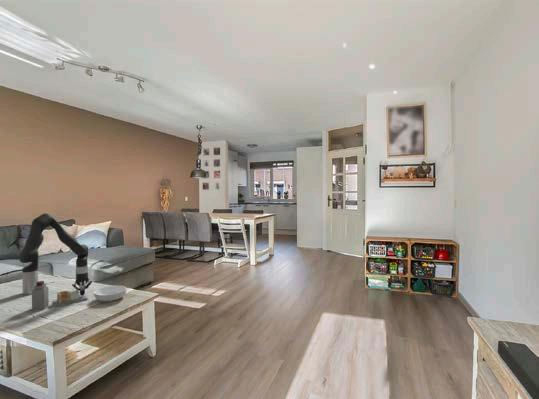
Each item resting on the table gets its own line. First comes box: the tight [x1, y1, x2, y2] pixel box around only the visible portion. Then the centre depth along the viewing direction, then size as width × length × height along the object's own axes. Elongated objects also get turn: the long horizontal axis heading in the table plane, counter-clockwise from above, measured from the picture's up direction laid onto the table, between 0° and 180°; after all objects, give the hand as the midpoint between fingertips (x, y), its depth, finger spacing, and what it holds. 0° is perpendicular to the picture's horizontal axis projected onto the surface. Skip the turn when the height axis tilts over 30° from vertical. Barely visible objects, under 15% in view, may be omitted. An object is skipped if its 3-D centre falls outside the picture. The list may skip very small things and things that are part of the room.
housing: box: [68, 288, 80, 301], centre depth 200 cm, size 9×6×5 cm, turn 48°
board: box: [52, 294, 88, 308], centre depth 199 cm, size 12×18×6 cm, turn 138°
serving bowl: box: [93, 285, 128, 302], centre depth 203 cm, size 21×21×7 cm
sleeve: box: [56, 289, 70, 303], centre depth 196 cm, size 6×6×6 cm
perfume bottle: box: [31, 280, 49, 312], centre depth 186 cm, size 7×7×18 cm
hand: (82, 295), depth 204 cm, fingers closed
